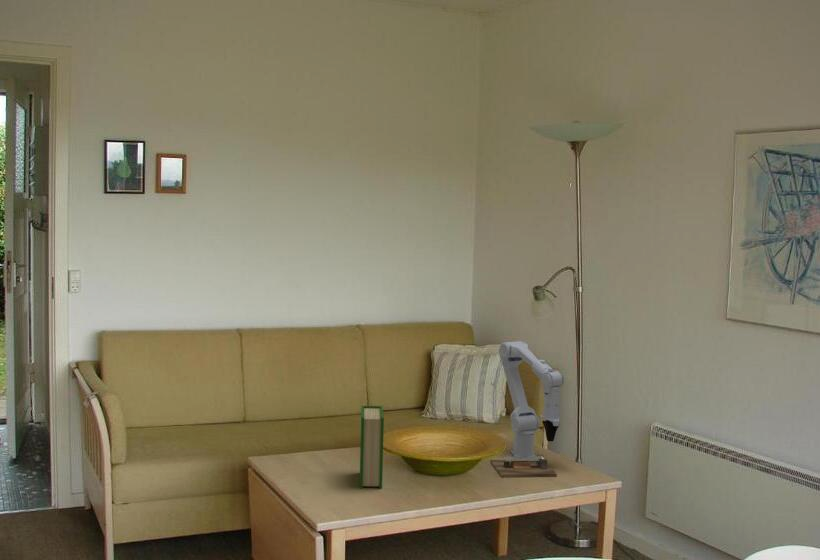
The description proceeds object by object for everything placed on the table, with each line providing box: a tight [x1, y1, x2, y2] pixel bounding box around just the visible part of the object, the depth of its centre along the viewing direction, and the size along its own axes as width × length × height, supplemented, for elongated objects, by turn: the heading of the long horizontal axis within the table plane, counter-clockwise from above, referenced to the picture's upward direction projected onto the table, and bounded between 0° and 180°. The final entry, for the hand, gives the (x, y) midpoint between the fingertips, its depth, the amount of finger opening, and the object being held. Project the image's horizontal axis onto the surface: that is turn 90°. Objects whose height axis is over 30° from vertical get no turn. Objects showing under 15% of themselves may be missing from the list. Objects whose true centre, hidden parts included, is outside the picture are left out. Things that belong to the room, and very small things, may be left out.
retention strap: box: [502, 454, 545, 461], centre depth 324 cm, size 4×15×1 cm, turn 97°
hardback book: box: [359, 405, 385, 490], centre depth 306 cm, size 18×7×24 cm, turn 3°
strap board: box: [489, 454, 557, 478], centre depth 324 cm, size 18×20×4 cm
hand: (550, 440), depth 329 cm, fingers closed
